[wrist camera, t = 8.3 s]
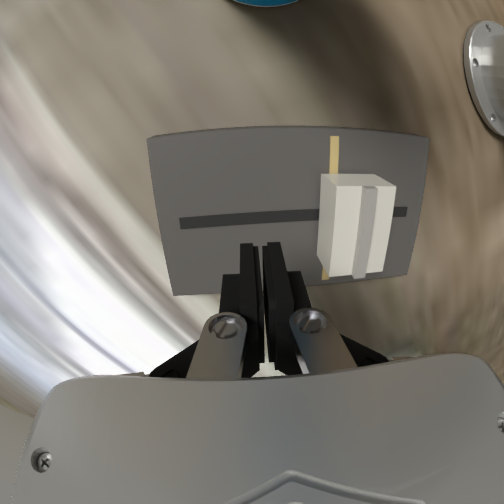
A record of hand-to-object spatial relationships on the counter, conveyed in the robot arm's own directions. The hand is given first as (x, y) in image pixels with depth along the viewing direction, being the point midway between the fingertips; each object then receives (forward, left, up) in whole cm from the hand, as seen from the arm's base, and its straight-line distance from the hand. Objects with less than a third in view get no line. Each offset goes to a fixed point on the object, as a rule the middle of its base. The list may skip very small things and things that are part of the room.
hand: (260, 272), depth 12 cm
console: (-4, +1, -10) cm, 11 cm away
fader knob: (-7, +1, -8) cm, 10 cm away
